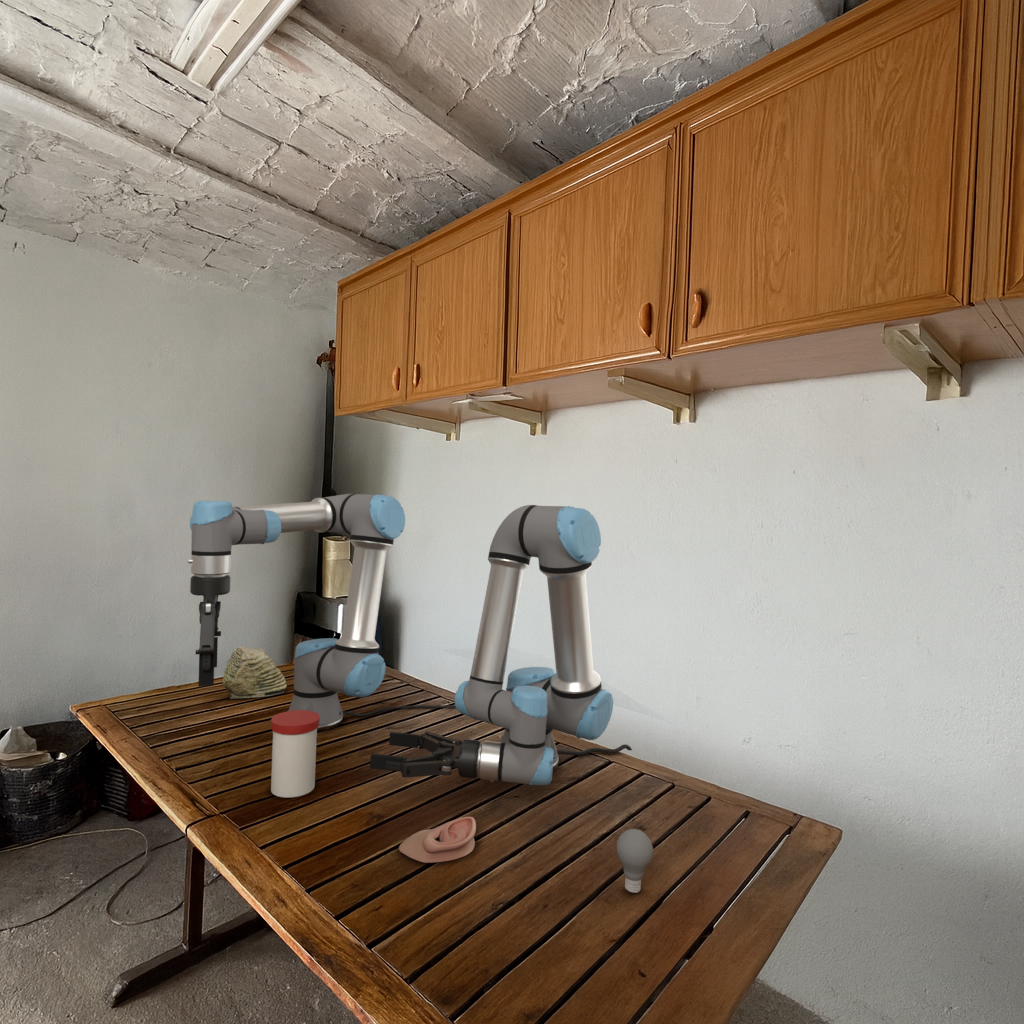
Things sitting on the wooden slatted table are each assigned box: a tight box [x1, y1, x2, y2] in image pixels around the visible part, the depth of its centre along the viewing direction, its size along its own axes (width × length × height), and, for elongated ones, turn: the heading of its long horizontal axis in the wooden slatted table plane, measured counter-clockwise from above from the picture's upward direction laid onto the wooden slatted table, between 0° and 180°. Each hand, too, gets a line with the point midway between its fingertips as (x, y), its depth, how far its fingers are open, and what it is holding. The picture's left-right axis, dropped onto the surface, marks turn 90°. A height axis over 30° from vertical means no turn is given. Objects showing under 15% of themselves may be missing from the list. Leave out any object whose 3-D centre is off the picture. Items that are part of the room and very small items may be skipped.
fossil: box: [222, 646, 288, 699], centre depth 198 cm, size 9×18×15 cm, turn 132°
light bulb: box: [615, 828, 654, 894], centre depth 106 cm, size 6×6×10 cm
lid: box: [270, 710, 320, 735], centre depth 137 cm, size 10×10×2 cm
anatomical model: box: [398, 816, 477, 864], centre depth 116 cm, size 13×4×12 cm
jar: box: [270, 729, 318, 798], centre depth 137 cm, size 9×9×15 cm
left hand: (208, 676), depth 132 cm, fingers open, 13 cm apart
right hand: (380, 749), depth 135 cm, fingers open, 13 cm apart
